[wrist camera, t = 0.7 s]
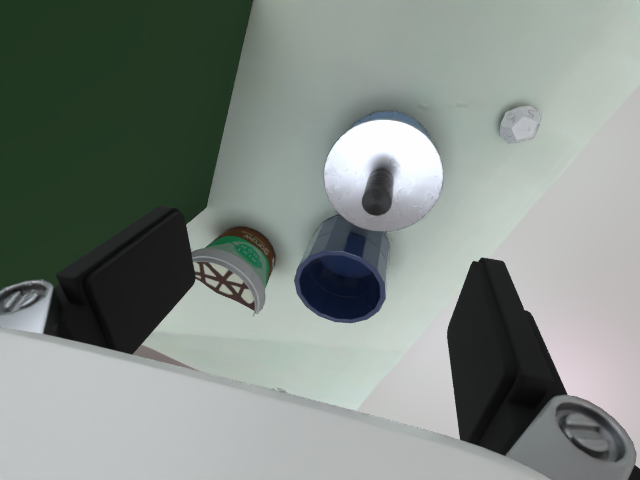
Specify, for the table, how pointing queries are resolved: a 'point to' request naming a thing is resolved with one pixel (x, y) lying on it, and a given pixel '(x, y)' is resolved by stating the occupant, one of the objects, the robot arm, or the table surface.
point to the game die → (520, 124)
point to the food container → (237, 266)
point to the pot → (344, 271)
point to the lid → (383, 175)
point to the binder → (107, 119)
